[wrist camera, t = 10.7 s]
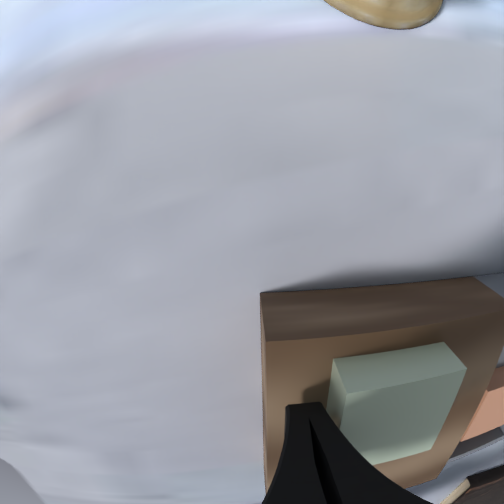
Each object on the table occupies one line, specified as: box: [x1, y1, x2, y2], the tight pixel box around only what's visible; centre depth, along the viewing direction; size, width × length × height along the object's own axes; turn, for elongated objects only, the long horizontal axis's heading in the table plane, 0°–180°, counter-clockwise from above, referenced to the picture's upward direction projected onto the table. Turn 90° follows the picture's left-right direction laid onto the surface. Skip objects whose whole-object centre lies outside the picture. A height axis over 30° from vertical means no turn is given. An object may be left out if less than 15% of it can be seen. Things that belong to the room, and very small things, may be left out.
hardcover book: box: [440, 465, 504, 504], centre depth 26 cm, size 16×23×2 cm
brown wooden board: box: [260, 276, 504, 494], centre depth 15 cm, size 14×12×4 cm
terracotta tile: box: [460, 366, 504, 442], centre depth 17 cm, size 5×5×2 cm
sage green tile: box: [326, 342, 467, 465], centre depth 11 cm, size 5×5×2 cm
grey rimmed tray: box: [446, 273, 504, 464], centre depth 16 cm, size 14×8×3 cm, turn 2°
